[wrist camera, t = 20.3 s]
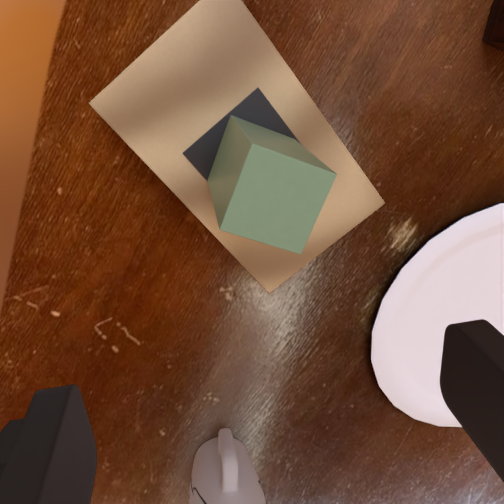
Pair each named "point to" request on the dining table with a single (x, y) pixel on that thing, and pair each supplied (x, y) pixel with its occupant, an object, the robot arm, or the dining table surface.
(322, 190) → the green carton
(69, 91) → the dining table surface
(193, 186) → the shelf
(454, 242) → the plate
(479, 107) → the dining table surface
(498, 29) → the coffee grinder
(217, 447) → the mug
